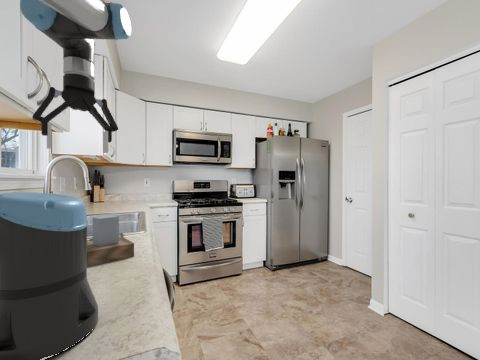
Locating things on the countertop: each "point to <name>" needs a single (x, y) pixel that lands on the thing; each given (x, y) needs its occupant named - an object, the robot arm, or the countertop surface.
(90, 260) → the walnut block
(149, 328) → the countertop surface
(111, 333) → the countertop surface
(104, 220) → the slate block
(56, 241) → the robot arm
